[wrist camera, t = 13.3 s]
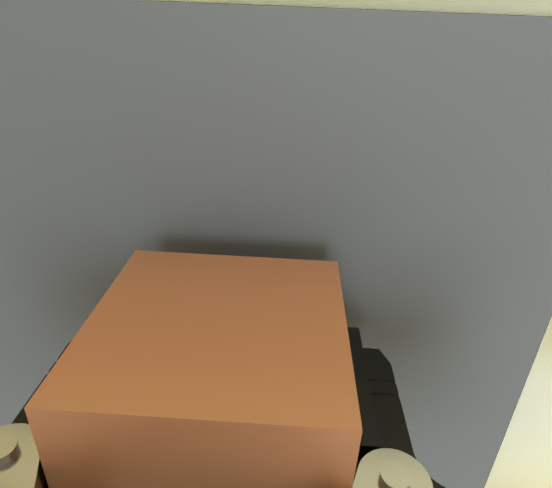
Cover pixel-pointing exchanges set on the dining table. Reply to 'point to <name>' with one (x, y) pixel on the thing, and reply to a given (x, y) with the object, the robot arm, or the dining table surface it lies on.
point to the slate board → (290, 182)
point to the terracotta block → (205, 380)
